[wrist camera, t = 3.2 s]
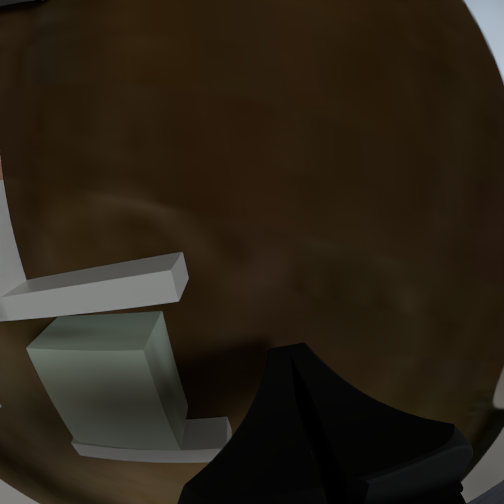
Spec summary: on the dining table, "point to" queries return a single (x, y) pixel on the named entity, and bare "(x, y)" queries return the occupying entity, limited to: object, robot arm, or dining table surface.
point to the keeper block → (113, 379)
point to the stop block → (0, 175)
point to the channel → (104, 299)
